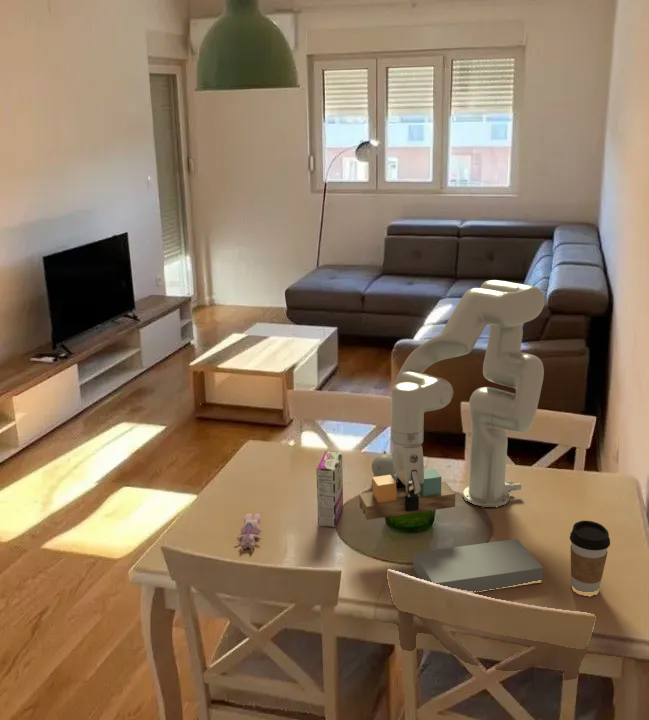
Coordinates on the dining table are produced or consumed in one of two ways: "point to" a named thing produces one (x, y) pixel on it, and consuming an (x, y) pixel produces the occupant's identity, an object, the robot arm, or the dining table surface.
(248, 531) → the rabbit figure
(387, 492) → the orange cube
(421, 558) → the dock
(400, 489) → the brown wooden block
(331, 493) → the candy bar box
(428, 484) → the teal cube
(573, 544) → the coffee cup
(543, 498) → the dining table surface
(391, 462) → the round bodied animal figurine
